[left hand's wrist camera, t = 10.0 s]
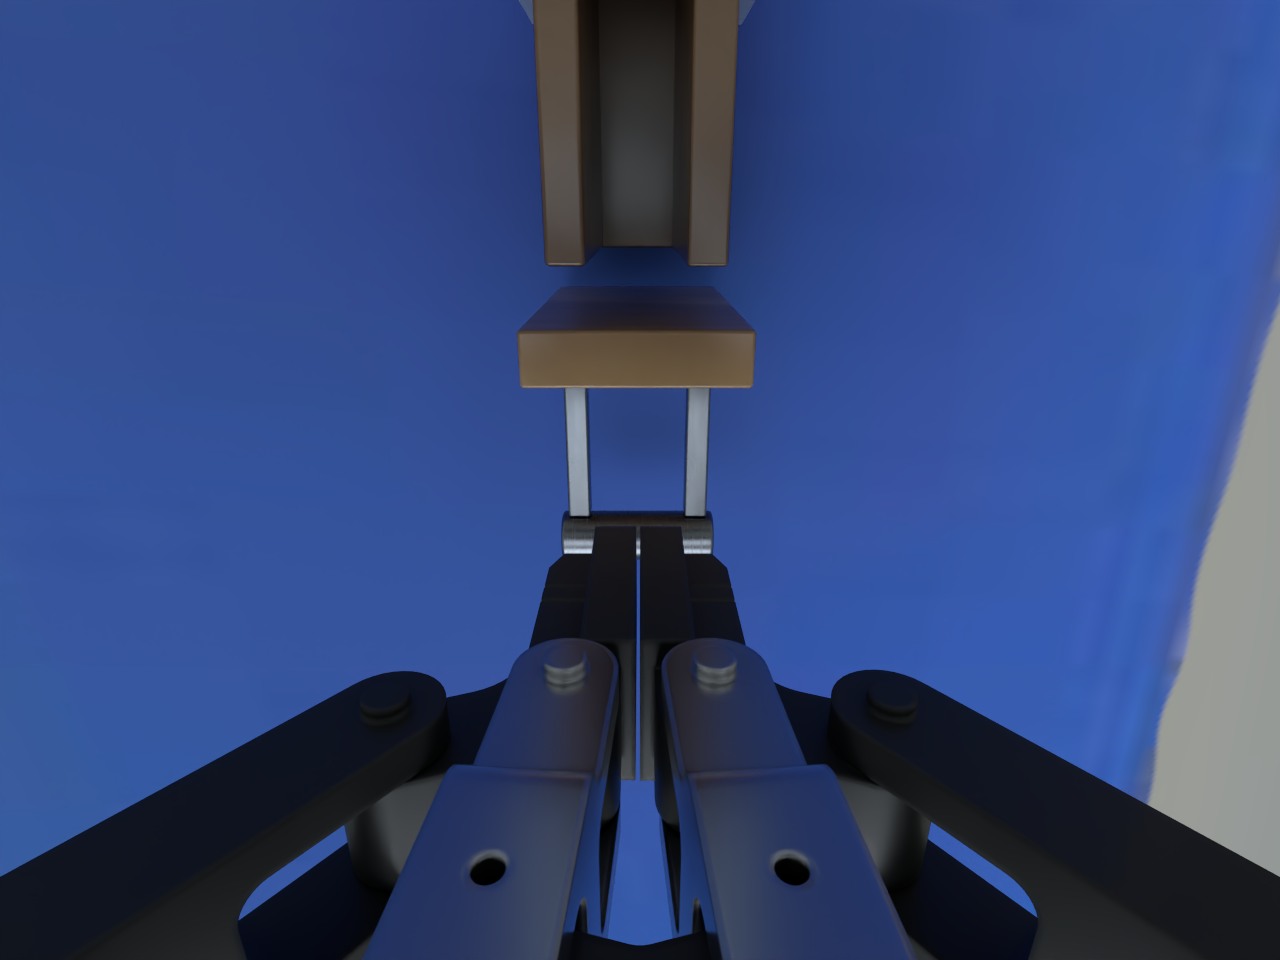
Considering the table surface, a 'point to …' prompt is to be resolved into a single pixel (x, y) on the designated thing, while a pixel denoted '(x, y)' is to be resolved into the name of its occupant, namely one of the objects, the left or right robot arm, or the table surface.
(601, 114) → the drawer
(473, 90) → the table surface
